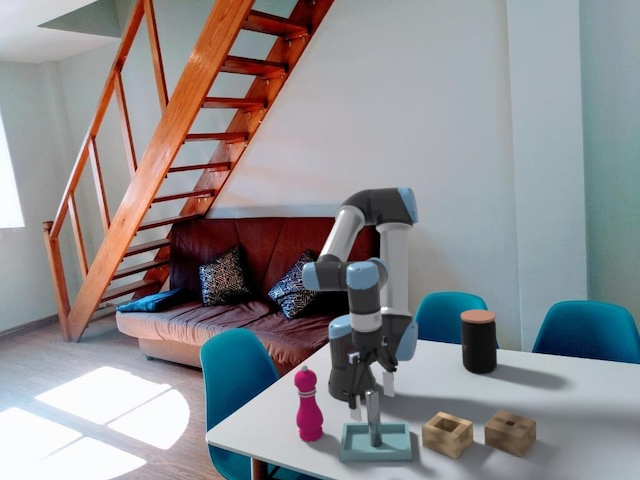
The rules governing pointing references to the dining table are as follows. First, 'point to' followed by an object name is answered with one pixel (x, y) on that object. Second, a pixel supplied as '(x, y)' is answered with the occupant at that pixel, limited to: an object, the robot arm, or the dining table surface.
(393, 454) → the teal tray
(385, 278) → the robot arm
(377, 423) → the cylinder
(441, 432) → the oak block wide bore
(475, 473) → the dining table surface
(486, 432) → the walnut block narrow bore
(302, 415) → the pepper mill
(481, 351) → the coffee jar
